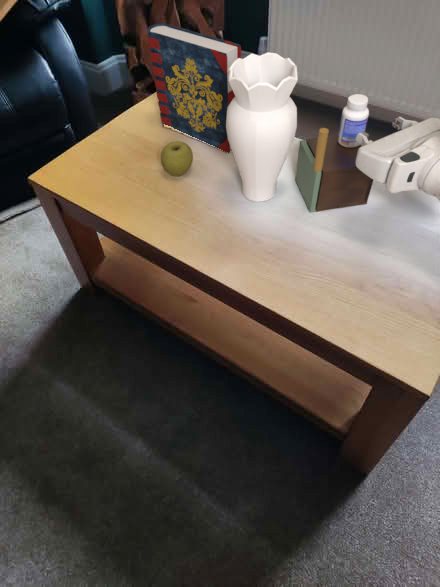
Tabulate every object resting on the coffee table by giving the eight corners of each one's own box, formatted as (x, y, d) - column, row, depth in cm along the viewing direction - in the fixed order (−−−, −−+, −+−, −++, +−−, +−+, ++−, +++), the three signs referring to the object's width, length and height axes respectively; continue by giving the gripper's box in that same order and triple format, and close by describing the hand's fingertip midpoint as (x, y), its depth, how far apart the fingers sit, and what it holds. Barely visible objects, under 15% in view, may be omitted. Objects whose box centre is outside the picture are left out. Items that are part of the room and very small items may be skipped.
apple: (200, 171, 109) (197, 146, 103) (174, 185, 106) (170, 160, 100) (182, 158, 112) (179, 133, 107) (157, 171, 109) (152, 146, 104)
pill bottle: (366, 144, 94) (377, 102, 86) (345, 151, 93) (354, 108, 85) (353, 132, 97) (362, 89, 89) (332, 138, 96) (340, 95, 88)
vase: (275, 166, 108) (284, 43, 85) (299, 202, 100) (316, 77, 77) (220, 179, 106) (213, 57, 83) (240, 218, 98) (239, 93, 75)
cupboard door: (301, 178, 105) (311, 100, 89) (316, 211, 98) (330, 132, 82) (293, 179, 105) (302, 101, 89) (308, 212, 97) (321, 133, 82)
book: (156, 125, 122) (139, 30, 103) (172, 114, 126) (159, 20, 106) (227, 154, 112) (224, 55, 93) (243, 141, 116) (242, 43, 96)
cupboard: (348, 172, 106) (357, 131, 97) (366, 204, 99) (378, 163, 90) (300, 179, 105) (306, 139, 96) (316, 211, 98) (323, 171, 89)
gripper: (477, 129, 79) (420, 97, 87) (393, 167, 74) (340, 129, 81) (463, 159, 84) (411, 126, 92) (383, 196, 79) (335, 158, 86)
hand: (377, 128), depth 86 cm, fingers open, 8 cm apart
